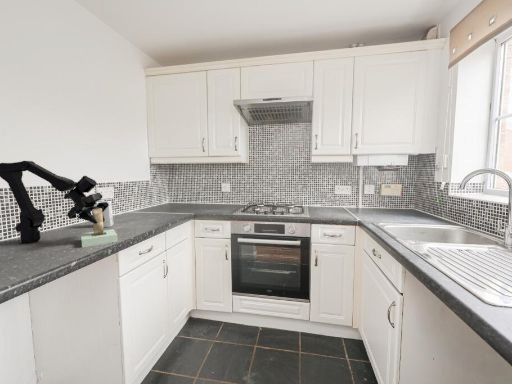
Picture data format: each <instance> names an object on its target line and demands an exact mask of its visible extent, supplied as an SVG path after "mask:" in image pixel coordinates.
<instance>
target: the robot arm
mask: <svg viewBox="0 0 512 384" xmlns="http://www.w3.org/2000/svg"><path fill="white" fill-rule="evenodd" d="M27 171H28V172H30V173H32V174H33V175H35V176H37V177H39V178H41V179H42V180H45V181H46V182H48V183H49V184H50V185H51V186H52V188H54V189H55V190H56V191H58V192H65V193H64V196H63V199H67V200H71V201H72V202H73V203H74V204H73V206H72V207H71V208H70V209H69V211H68V212H67V213H66V215H67V218H69V220H72V219H76V218H77V219H81V220H84V221H88V222H90V223H92V224H93V223H95V224H96V223H97V221H96V219H95V218H94V217H93V213H91V212H92V209H98V208H101V209H102V212H104V211H105V209H106V208H107V207H108V206H109V204H108V203H107V202H103V201H101V200H102V199H103V195H102V194H101V193H100V192H96V193H92V194H89V195H87V196H86V194H87V193H90V192H91V191H92V190H93V189H94V188H95V187H97V185H98V183H97V181H96V180H95V179H92V178H91V177H89V176H88V175H83V176H82V177H81V178H80V179H79V180H78V181H74V180H73V179H70V178H68V177H65V176H61V175H58V174H56V173H54V172H52V171H51V170H48V169H46V168H45V167H43V166H41V165H39V164H38V163H36V162H34V161H32V160H21V161H17V162H0V178H1V179H2V180H3V181H5V182H6V183H7V185H8V186H9V189H10V191H11V194H12V195H13V198H14V199H15V201H16V204H17V205H18V208H19V209H20V213H19V220H20V222H18V224H16V225H15V227H14V229H15V231H16V232H19V236H20V238H19V239H20V243H19V244H20V245H23V244H30V243H37V242H39V241H40V240H41V238H42V235H41V230H39V229H40V228H41V227H42V225H43V224H44V222H45V217H46V215H45V214H44V212H43V209H42V208H39V209H38V208H37V207H35V206H34V204H33V200H31V197H30V195H29V193H28V191H27V188H26V187H25V184H24V182H23V180H22V179H23V176H24V175H23V172H27ZM85 193H86V194H85ZM99 201H100V202H101V203H99V204H98V205H97V206H94V205H95V204H96V202H99ZM77 214H78V217H77ZM102 215H103V213H102ZM104 221H105V219H104V216H103V222H104Z"/></svg>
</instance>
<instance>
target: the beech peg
mask: <svg viewBox="0 0 512 384" xmlns="http://www.w3.org/2000/svg"><path fill="white" fill-rule="evenodd" d="M91 212H92V213H91V214H92V216H93V217H94V218H95V219H96V221H97V223H96V224H95V223H92V225H93V232H94V236H98V235H104V232H103V230H104V227H103V215H102V209H101V208H98V209H92V211H91Z"/></svg>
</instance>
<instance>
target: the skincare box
mask: <svg viewBox="0 0 512 384" xmlns="http://www.w3.org/2000/svg"><path fill="white" fill-rule="evenodd" d="M101 202H107V203H108V204H109V206H108V207H107V208H106V209H105V211H104V212H102V213H103V216H104V219H105V221H104V222H103V228H109V227H110V228H111V227H112V226H113V225H114V217H113V216H114V215H113V204H112V200H109V201H108V200H107V201H106V200H105V201H97V202H96V204H95V205H94V206H97V205H98V204H99V203H101Z"/></svg>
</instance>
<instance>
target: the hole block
mask: <svg viewBox="0 0 512 384" xmlns="http://www.w3.org/2000/svg"><path fill="white" fill-rule="evenodd" d="M103 232H104V235H98V236H94V231H89V232H82V233H80V238H81V247H82V248H86V247H93V246H94V247H95V246H101V245H105V244H106V245H107V244H112V242H113V243H117V241H118V240H119V239H118V233H117V232H116V230H115V229H111V228H110V229H103Z"/></svg>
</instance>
